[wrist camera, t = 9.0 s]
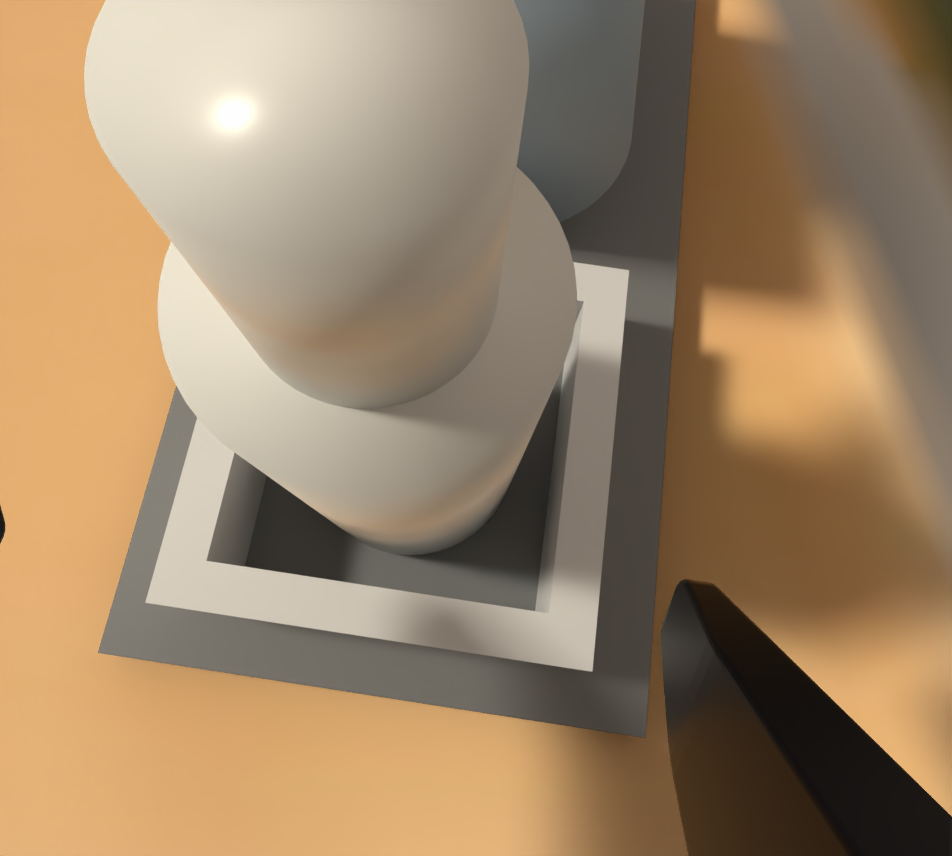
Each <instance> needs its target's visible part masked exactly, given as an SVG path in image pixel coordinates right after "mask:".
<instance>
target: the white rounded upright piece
mask: <svg viewBox="0 0 952 856" xmlns="http://www.w3.org/2000/svg"><path fill="white" fill-rule="evenodd" d="M528 78H529V53H528V42H527V38H526V34H525V30H524V26H523V22H522V19H521V16H520V14H519V12H518V9H517V7H516V4H515V2H514V0H106V1H105V3H104V5H103V7H102V9H101V11H100V13H99V15H98V18H97V20H96V22H95V24H94V27H93V30H92V33H91V37H90V40H89V43H88V46H87V53H86V60H85V68H84V85H85V98H86V103H87V108H88V113H89V118H90V121H91V124H92V126H93V129H94V131H95V134H96V137H97V139H98V142H99V143H100V145H101V147H102V149H103V150H104V152H105V154H106V155H107V157H108V159H109V161H110V162H111V164H112V165H113V166H114V168H115V169H116V170H117V172H118V173H119V174H120V176H121V177H122V178H123V179H124V181H125V182H126V183H127V185H128V186H129V187H130V189H131V190H132V191H133V192H134V194H135V195H136V196H137V198H138V199H139V200H140V202H141V203H142V204H143V205H144V207H145V208H146V209H147V211H148V212H149V213H150V215H151V216H152V217H153V218H154V220H155V221H156V222H157V224H158V225H159V226H160V228H161V229H162V230H163V231H164V233H165V234H166V235H167V237H168V238H169V239H170V241H171V243H170V246H169V249H168V251H167V254H166V256H165V260H164V265H163V269H162V273H161V277H160V283H159V294H158V305H157V306H158V323H159V333H160V338H161V343H162V348H163V352H164V357H165V359H166V362H167V365H168V367H169V370H170V373H171V375H172V378H173V380H174V382H175V384H176V386H177V388H178V389H179V391H180V393H181V395H182V397H183V398H184V400H185V402H186V404H187V405H188V406H189V407H190V409H191V410H192V411H193V413H194V414H195V415H196V417H197V418H198V419H199V420H200V422H201V423H202V424H203V425H204V426H205V427H206V428H207V429H208V430H209V431H210V432H211V433H212V434H213V435H214V436H215V437H216V438H217V439H218V440H219V441H220V442H221V443H222V444H224V445H225V446H226V447H228V448H229V449H231V450H232V451H233V452H235V453H236V454H238V455H239V456H240V457H242V458H243V459H244V460H246V461H247V462H249V463H250V464H251V465H253V466H254V467H256V468H257V469H258V470H260V471H261V472H263V473H264V474H265V475H267V476H268V477H270V478H271V479H273V480H274V481H275V482H277V483H278V484H280V485H281V486H282V487H284V488H285V489H287V490H288V491H289V492H291V493H292V494H294V495H295V496H296V497H298V498H299V499H301V500H302V501H303V502H305V503H306V504H308V505H309V506H310V507H312V508H313V509H315V510H316V511H317V512H319V513H320V514H322V515H323V516H324V517H326V518H327V519H329V520H330V521H331V522H333V523H334V524H336V525H337V526H338V527H340V528H341V529H343V530H344V531H345V532H347V533H348V534H350V535H351V536H352V537H354V538H355V539H357V540H358V541H360V542H362V543H364V544H366V545H368V546H369V547H372V548H375V549H378V550H380V551H383V552H388V553H393V554H399V555H424V554H429V553H435V552H439V551H442V550H445V549H448V548H450V547H453V546H455V545H457V544H459V543H461V542H463V541H464V540H466V539H467V538H469V537H470V536H472V535H473V534H475V533H476V532H477V531H478V530H479V529H481V528H482V527H483V526H484V525H485V524H486V523H487V522H488V520H489V519H490V518H491V517H492V516H493V514H494V513H495V512H496V510H497V509H498V507H499V506H500V504H501V502H502V500H503V498H504V496H505V494H506V492H507V490H508V488H509V485H510V483H511V481H512V479H513V476H514V474H515V472H516V470H517V468H518V465H519V463H520V461H521V459H522V456H523V454H524V452H525V450H526V448H527V445H528V443H529V441H530V439H531V437H532V434H533V432H534V430H535V428H536V425H537V423H538V421H539V419H540V417H541V414H542V412H543V410H544V408H545V406H546V403H547V401H548V399H549V397H550V394H551V392H552V390H553V388H554V386H555V383H556V381H557V379H558V377H559V374H560V372H561V370H562V368H563V365H564V363H565V360H566V357H567V354H568V351H569V348H570V345H571V342H572V337H573V331H574V326H575V321H576V308H577V286H576V276H575V268H574V264H573V260H572V256H571V252H570V248H569V244H568V242H567V239H566V237H565V234H564V232H563V229H562V227H561V224H560V222H559V221H558V219H557V217H556V215H555V214H554V212H553V210H552V208H551V207H550V205H549V203H548V202H547V200H546V199H545V198H544V196H543V195H542V194H541V192H540V191H539V190H538V189H537V187H536V186H535V185H534V183H533V182H532V181H531V180H530V179H529V178H528V177H527V176H526V175H525V174H524V173H523V172H522V171H521V170H520V169H519V168H518V167H517V160H518V153H519V146H520V139H521V132H522V125H523V118H524V111H525V104H526V97H527V90H528Z"/></svg>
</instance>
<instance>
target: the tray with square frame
mask: <svg viewBox="0 0 952 856" xmlns="http://www.w3.org/2000/svg"><path fill="white" fill-rule="evenodd" d="M514 2H515V4H516V7H517V9H518V12H519V14H520V16H521V19H522V22H523V26H524V30H525V34H526V38H527V42H528V53H529V78H528V90H527V97H526V104H525V111H524V118H523V125H522V132H521V139H520V146H519V153H518V160H517V167H518V168H519V169H520V170H521V171H522V172H523V173H524V174H525V175H526V176H527V177H528V178H529V179H530V180H531V181H532V182H533V183H534V185H535V186H536V187H537V189H538V190H539V191H540V192H541V194H542V195H543V196H544V198H545V199H546V200H547V202H548V203H549V205H550V207H551V208H552V210H553V212H554V214H555V215H556V217H557V219H558V221H559V222H560V224H561V227H562V229H563V232H564V234H565V237H566V239H567V242H568V244H569V248H570V252H571V256H572V260H573V264H574V268H575V276H576V286H577V308H576V321H575V326H574V331H573V337H572V342H571V345H570V348H569V351H568V354H567V357H566V360H565V363H564V365H563V368H562V370H561V372H560V374H559V377H558V379H557V381H556V383H555V386H554V388H553V390H552V392H551V394H550V397H549V399H548V401H547V403H546V406H545V408H544V410H543V412H542V414H541V417H540V419H539V421H538V423H537V425H536V428H535V430H534V432H533V434H532V437H531V439H530V441H529V443H528V445H527V448H526V450H525V452H524V454H523V456H522V459H521V461H520V463H519V465H518V468H517V470H516V472H515V474H514V476H513V479H512V481H511V483H510V485H509V488H508V490H507V492H506V494H505V496H504V498H503V500H502V502H501V504H500V506H499V507H498V509H497V510H496V512H495V513H494V514H493V516H492V517H491V518H490V519H489V520H488V522H487V523H486V524H485V525H484V526H483V527H482V528H481V529H479V530H478V531H477V532H476V533H475V534H473V535H472V536H470V537H469V538H467V539H466V540H464V541H463V542H461V543H459V544H457V545H455V546H453V547H450V548H448V549H445V550H442V551H439V552H435V553H429V554H424V555H399V554H393V553H388V552H383V551H380V550H378V549H375V548H372V547H369V546H368V545H366V544H364V543H362V542H360V541H358V540H357V539H355V538H354V537H352V536H351V535H350V534H348V533H347V532H345V531H344V530H343V529H341V528H340V527H338V526H337V525H336V524H334V523H333V522H331V521H330V520H329V519H327V518H326V517H324V516H323V515H322V514H320V513H319V512H317V511H316V510H315V509H313V508H312V507H310V506H309V505H308V504H306V503H305V502H303V501H302V500H301V499H299V498H298V497H296V496H295V495H294V494H292V493H291V492H289V491H288V490H287V489H285V488H284V487H282V486H281V485H280V484H278V483H277V482H275V481H274V480H273V479H271V478H270V477H268V476H267V475H265V474H264V473H263V472H261V471H260V470H258V469H257V468H256V467H254V466H253V465H251V464H250V463H249V462H247V461H246V460H244V459H243V458H242V457H240V456H239V455H238V454H236V453H235V452H233V451H232V450H231V449H229V448H228V447H226V446H225V445H224V444H222V443H221V442H220V441H219V440H218V439H217V438H216V437H215V436H214V435H213V434H212V433H211V432H210V431H209V430H208V429H207V428H206V427H205V426H204V425H203V424H202V423H201V422H200V420H199V419H198V418H197V417H196V415H195V414H194V413H193V411H192V410H191V409H190V407H189V406H188V405H187V404H186V402H185V400H184V398H183V397H182V395H181V393H180V391H179V389H178V388H177V386H176V389H175V392H174V396H173V399H172V403H171V406H170V409H169V413H168V416H167V420H166V423H165V426H164V430H163V433H162V437H161V440H160V443H159V447H158V450H157V454H156V457H155V460H154V464H153V467H152V471H151V474H150V477H149V481H148V484H147V488H146V491H145V494H144V498H143V501H142V505H141V508H140V511H139V515H138V518H137V522H136V525H135V528H134V532H133V535H132V539H131V542H130V545H129V549H128V552H127V556H126V559H125V562H124V566H123V569H122V573H121V576H120V579H119V583H118V586H117V590H116V593H115V596H114V600H113V603H112V607H111V610H110V613H109V617H108V620H107V624H106V627H105V630H104V634H103V637H102V641H101V644H100V647H99V651H98V653H102V654H109V655H115V656H121V657H128V658H134V659H141V660H147V661H154V662H160V663H166V664H173V665H179V666H186V667H192V668H199V669H205V670H211V671H218V672H224V673H231V674H237V675H244V676H250V677H257V678H263V679H269V680H276V681H282V682H289V683H295V684H302V685H308V686H314V687H321V688H327V689H334V690H340V691H347V692H353V693H359V694H366V695H372V696H379V697H385V698H392V699H398V700H404V701H411V702H417V703H424V704H430V705H437V706H443V707H449V708H456V709H462V710H469V711H475V712H482V713H488V714H494V715H501V716H507V717H514V718H520V719H527V720H533V721H539V722H546V723H552V724H559V725H565V726H572V727H578V728H585V729H591V730H597V731H604V732H610V733H617V734H623V735H630V736H636V737H642V738H645V737H646V723H647V708H648V693H649V678H650V664H651V649H652V634H653V620H654V605H655V590H656V576H657V561H658V546H659V532H660V517H661V502H662V488H663V473H664V458H665V444H666V429H667V414H668V400H669V385H670V370H671V356H672V341H673V326H674V312H675V297H676V282H677V268H678V253H679V238H680V224H681V209H682V194H683V180H684V165H685V150H686V136H687V121H688V106H689V92H690V77H691V62H692V48H693V33H694V18H695V3H696V0H514Z"/></svg>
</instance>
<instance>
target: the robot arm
mask: <svg viewBox="0 0 952 856" xmlns="http://www.w3.org/2000/svg"><path fill="white" fill-rule="evenodd" d="M4 533H5V521H4V517H3V513H2V510H1V506H0V543H1V541H2V539H3V537H4ZM661 654H662V667H663V680H664V693H665V706H666V719H667V731H668V743H669V753H670V761H671V767H672V773H673V779H674V784H675V789H676V794H677V800H678V805H679V810H680V815H681V821H682V826H683V831H684V836H685V841H686V847H687V852H688V856H952V817H951V815H949V814H948V813H947V812H946V811H945V810H944V809H943V808H942V807H941V806H940V805H939V804H938V803H937V802H936V801H935V800H934V799H933V798H932V797H931V796H930V795H929V794H928V793H927V792H926V791H925V790H924V789H923V788H922V787H921V786H920V785H919V784H918V783H917V782H916V781H915V780H914V779H913V778H912V777H911V776H910V775H909V774H908V773H907V772H906V771H905V770H904V769H903V768H902V767H901V766H900V765H898V764H897V763H896V762H895V761H894V760H893V759H892V758H891V757H890V756H889V755H888V754H887V753H886V752H885V751H884V750H883V749H882V748H881V747H880V746H879V745H878V744H877V743H876V742H875V741H874V740H873V739H872V738H871V737H870V736H869V735H868V734H867V733H866V732H865V731H864V730H863V729H862V728H861V727H860V726H859V725H858V724H857V723H856V722H855V721H854V720H853V719H852V718H851V717H850V716H848V715H847V714H846V713H845V712H844V711H843V710H842V709H841V708H840V707H839V706H838V705H837V704H836V703H835V702H834V701H833V700H832V699H831V698H830V697H829V696H828V695H827V694H826V693H825V692H824V691H823V690H822V689H821V688H820V687H819V686H818V685H817V684H816V683H815V682H814V681H813V680H812V679H811V678H810V677H809V676H808V675H807V674H806V673H805V672H804V671H803V670H802V669H801V668H800V667H799V666H797V665H796V664H795V663H794V662H793V661H792V660H791V659H790V658H789V657H788V656H787V655H786V654H785V653H784V652H783V651H782V650H781V649H780V648H779V647H778V646H777V645H776V644H775V643H774V642H773V641H772V640H771V639H770V638H769V637H768V636H767V635H766V634H765V633H764V632H763V631H762V630H761V629H760V628H759V627H758V626H757V625H756V624H755V623H754V622H753V621H752V620H751V619H750V618H749V617H747V616H746V615H745V614H744V613H743V612H742V611H741V610H740V609H739V608H738V607H737V606H736V605H735V604H734V603H733V602H732V601H731V600H730V599H729V598H728V597H727V596H726V595H725V594H724V593H723V592H722V591H721V590H720V589H719V588H718V587H717V586H715V585H714V584H712V583H708V582H701V581H694V580H688V579H685V580H682V581H680V582H679V584H678V585H677V587H676V589H675V592H674V595H673V598H672V600H671V603H670V606H669V609H668V612H667V614H666V617H665V620H664V623H663V626H662V631H661Z"/></svg>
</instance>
